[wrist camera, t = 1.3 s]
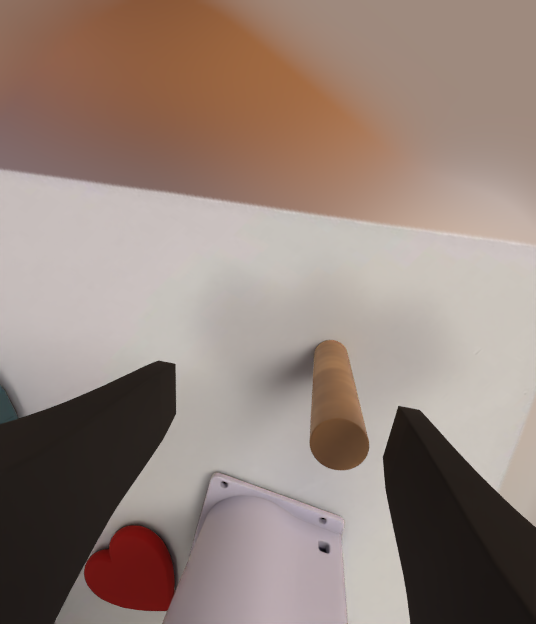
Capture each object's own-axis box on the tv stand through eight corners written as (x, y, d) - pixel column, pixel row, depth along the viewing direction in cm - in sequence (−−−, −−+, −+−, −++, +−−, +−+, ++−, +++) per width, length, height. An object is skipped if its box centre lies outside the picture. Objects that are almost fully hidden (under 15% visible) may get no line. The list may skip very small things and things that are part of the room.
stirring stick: (352, 345, 19) (377, 430, 11) (341, 375, 20) (358, 478, 11) (320, 335, 20) (319, 410, 11) (310, 365, 20) (302, 459, 11)
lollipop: (279, 642, 25) (135, 512, 25) (278, 656, 24) (128, 522, 24) (213, 683, 27) (79, 565, 27) (210, 698, 26) (71, 576, 26)
